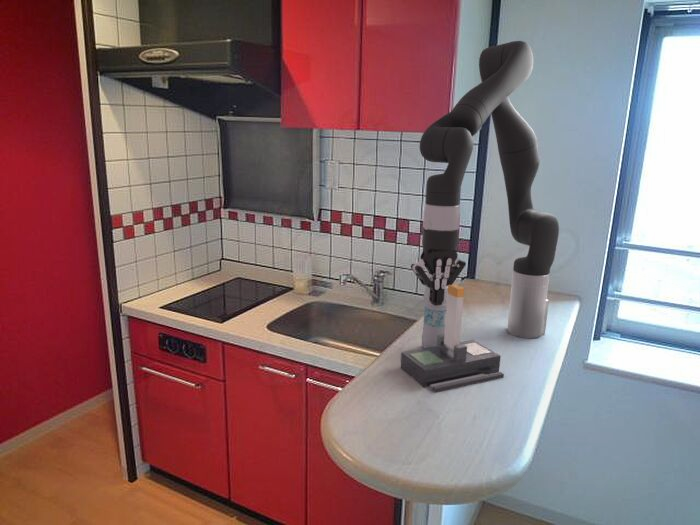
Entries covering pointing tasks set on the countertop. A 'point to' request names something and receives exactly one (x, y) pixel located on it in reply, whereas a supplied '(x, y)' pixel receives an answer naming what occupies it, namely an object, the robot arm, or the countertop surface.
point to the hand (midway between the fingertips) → (436, 304)
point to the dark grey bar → (465, 381)
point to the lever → (453, 316)
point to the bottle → (433, 319)
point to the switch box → (449, 362)
